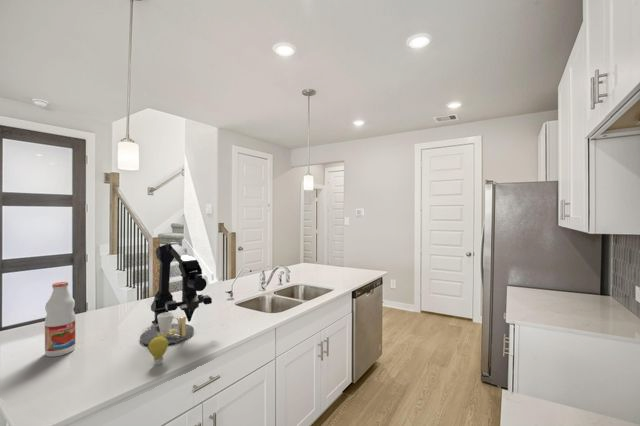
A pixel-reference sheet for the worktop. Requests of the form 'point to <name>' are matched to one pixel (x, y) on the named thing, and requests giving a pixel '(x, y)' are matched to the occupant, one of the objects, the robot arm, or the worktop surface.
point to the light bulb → (158, 349)
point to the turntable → (172, 337)
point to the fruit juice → (59, 322)
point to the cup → (166, 322)
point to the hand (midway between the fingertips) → (189, 321)
